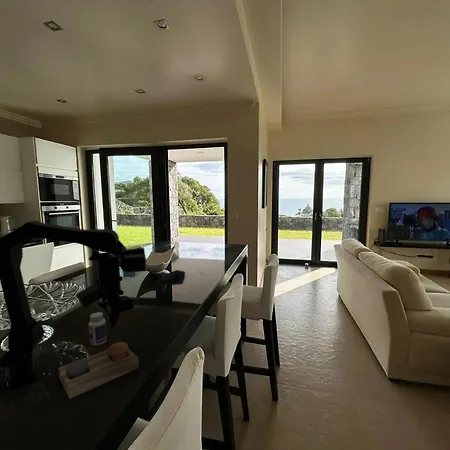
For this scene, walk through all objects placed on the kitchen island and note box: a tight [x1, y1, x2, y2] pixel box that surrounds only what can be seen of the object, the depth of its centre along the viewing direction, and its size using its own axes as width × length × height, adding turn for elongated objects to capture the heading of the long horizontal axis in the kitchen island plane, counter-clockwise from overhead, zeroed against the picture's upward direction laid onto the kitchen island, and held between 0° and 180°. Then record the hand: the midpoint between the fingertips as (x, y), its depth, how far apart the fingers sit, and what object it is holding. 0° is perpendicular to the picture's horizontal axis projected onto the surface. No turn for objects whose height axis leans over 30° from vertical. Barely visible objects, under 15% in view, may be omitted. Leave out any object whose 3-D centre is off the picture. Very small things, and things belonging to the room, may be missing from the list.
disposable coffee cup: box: [119, 258, 136, 278], centre depth 175 cm, size 11×11×15 cm
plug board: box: [57, 348, 140, 400], centre depth 78 cm, size 11×18×3 cm, turn 132°
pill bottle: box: [88, 311, 108, 346], centre depth 95 cm, size 5×5×10 cm
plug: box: [66, 359, 89, 380], centre depth 74 cm, size 5×5×5 cm
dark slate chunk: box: [156, 269, 186, 286], centre depth 167 cm, size 15×22×5 cm
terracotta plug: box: [108, 341, 129, 362], centre depth 82 cm, size 5×5×5 cm
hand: (112, 326), depth 81 cm, fingers closed
